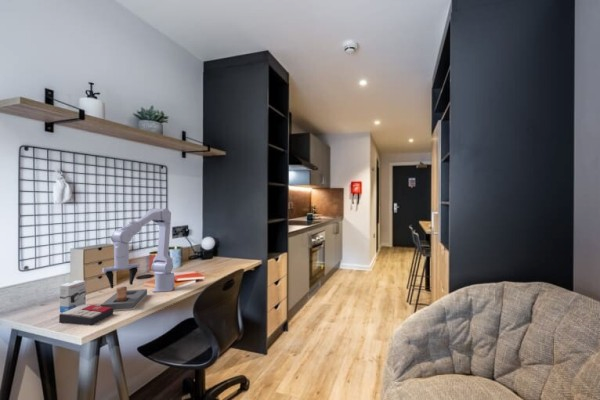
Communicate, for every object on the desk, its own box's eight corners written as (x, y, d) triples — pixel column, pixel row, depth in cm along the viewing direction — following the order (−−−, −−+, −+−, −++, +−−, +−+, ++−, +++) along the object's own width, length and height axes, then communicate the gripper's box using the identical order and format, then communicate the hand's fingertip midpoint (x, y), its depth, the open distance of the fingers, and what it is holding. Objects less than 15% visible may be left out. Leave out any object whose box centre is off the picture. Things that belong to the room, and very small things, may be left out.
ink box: (68, 313, 128) (68, 285, 128) (59, 312, 129) (59, 285, 129) (86, 306, 136) (86, 280, 136) (77, 305, 137) (77, 279, 137)
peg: (127, 305, 136) (127, 287, 136) (117, 307, 133) (117, 289, 133) (125, 303, 138) (125, 286, 138) (115, 305, 136) (115, 287, 136)
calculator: (92, 316, 116) (58, 312, 118) (91, 327, 116) (58, 323, 118) (113, 306, 126) (83, 302, 129) (113, 316, 126) (82, 312, 129)
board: (147, 295, 152) (147, 289, 151) (133, 309, 132) (133, 302, 132) (119, 296, 149) (118, 290, 149) (100, 311, 129) (100, 304, 129)
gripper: (136, 253, 143) (136, 281, 143) (100, 257, 133) (100, 287, 133) (140, 255, 138) (141, 284, 138) (104, 259, 128) (104, 290, 128)
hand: (121, 286), depth 135 cm, fingers open, 7 cm apart
